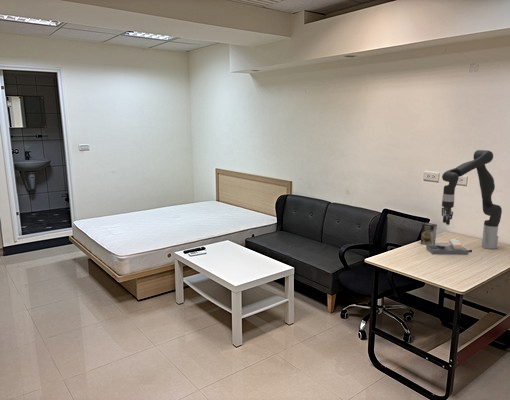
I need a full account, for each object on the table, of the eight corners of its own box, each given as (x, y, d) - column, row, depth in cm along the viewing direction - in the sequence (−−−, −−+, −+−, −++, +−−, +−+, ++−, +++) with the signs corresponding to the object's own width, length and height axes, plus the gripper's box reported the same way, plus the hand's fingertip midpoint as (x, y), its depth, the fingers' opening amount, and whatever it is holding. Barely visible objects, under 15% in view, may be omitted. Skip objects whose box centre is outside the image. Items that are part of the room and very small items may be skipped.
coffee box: (420, 243, 302) (421, 223, 299) (423, 241, 306) (425, 222, 303) (432, 246, 295) (433, 225, 292) (435, 244, 300) (437, 224, 296)
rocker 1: (443, 245, 287) (443, 242, 287) (449, 246, 277) (448, 242, 277) (434, 245, 287) (434, 242, 287) (440, 246, 277) (440, 242, 277)
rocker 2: (457, 241, 286) (457, 239, 285) (462, 249, 277) (463, 246, 276) (448, 241, 286) (449, 239, 285) (454, 249, 277) (454, 246, 276)
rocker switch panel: (467, 249, 287) (468, 244, 287) (475, 254, 276) (476, 249, 275) (426, 248, 289) (426, 243, 289) (432, 254, 278) (432, 248, 277)
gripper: (458, 202, 264) (455, 226, 267) (449, 198, 278) (447, 221, 281) (446, 202, 264) (444, 226, 268) (438, 198, 278) (436, 221, 282)
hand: (446, 223), depth 275 cm, fingers open, 5 cm apart
